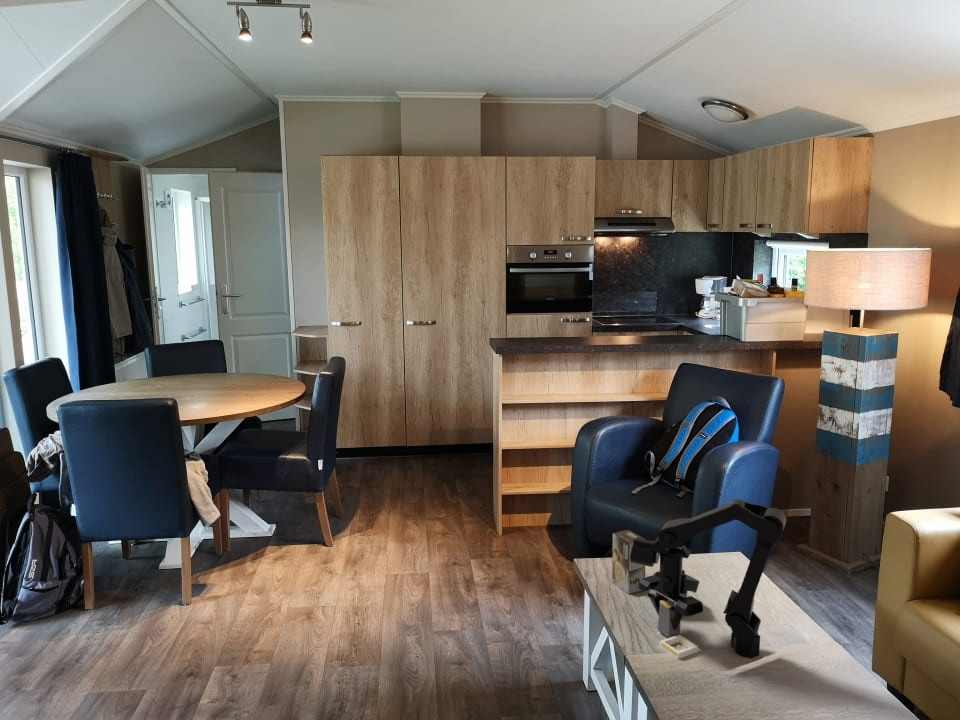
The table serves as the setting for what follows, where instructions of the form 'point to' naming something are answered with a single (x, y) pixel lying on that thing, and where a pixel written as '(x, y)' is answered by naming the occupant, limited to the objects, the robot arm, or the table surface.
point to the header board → (678, 653)
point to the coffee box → (625, 563)
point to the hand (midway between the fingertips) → (668, 625)
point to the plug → (666, 619)
